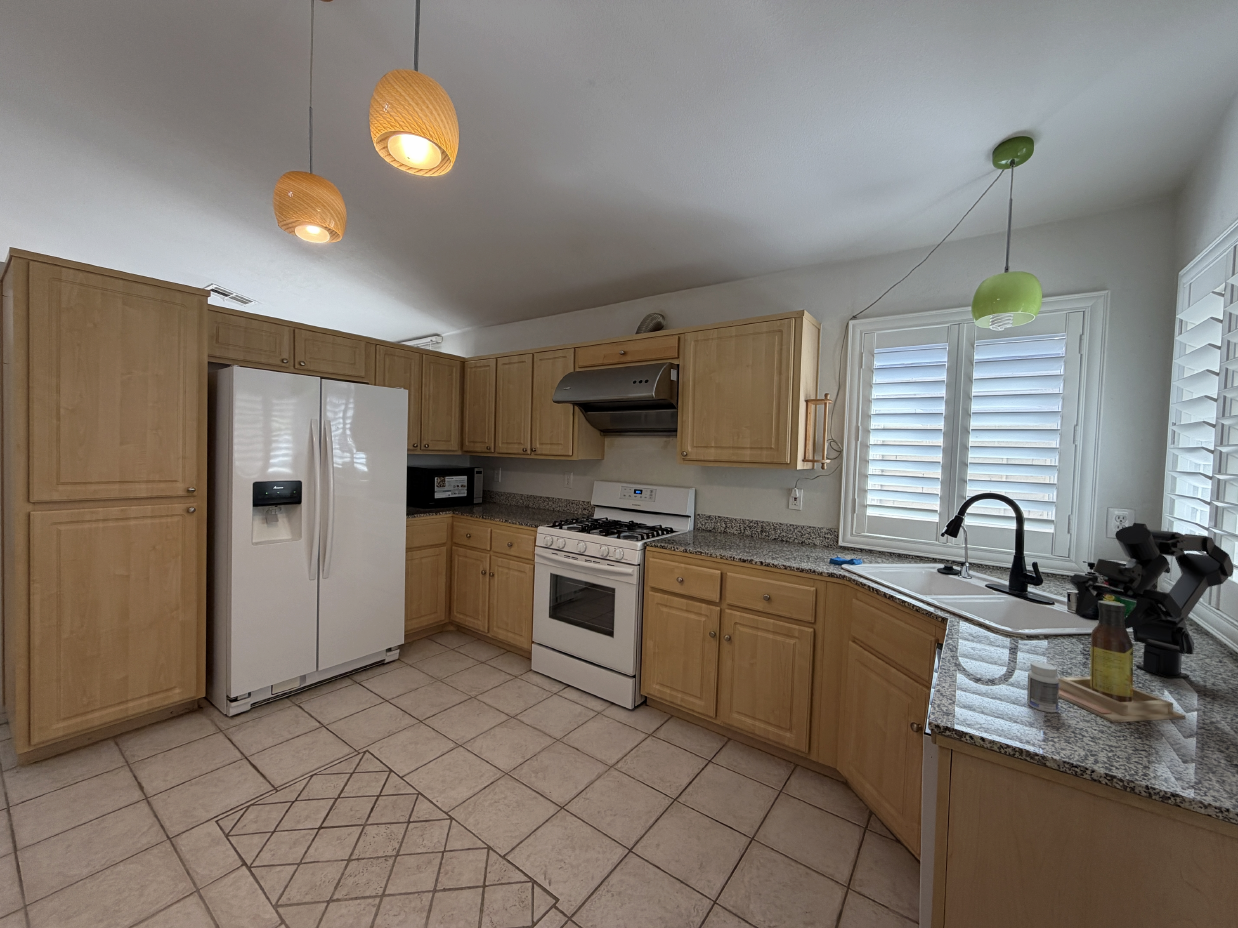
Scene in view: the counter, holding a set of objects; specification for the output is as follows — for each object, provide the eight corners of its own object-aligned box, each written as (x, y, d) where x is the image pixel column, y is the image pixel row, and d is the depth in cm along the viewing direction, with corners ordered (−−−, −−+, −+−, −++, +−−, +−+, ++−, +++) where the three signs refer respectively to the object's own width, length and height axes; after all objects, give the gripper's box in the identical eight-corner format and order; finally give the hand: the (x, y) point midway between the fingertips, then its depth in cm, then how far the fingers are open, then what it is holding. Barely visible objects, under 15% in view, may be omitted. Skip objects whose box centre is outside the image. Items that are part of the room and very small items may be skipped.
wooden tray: (1103, 684, 108) (1103, 673, 108) (1185, 717, 94) (1186, 705, 94) (1038, 687, 105) (1038, 676, 105) (1113, 722, 91) (1113, 709, 91)
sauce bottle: (1140, 708, 96) (1144, 609, 96) (1100, 702, 98) (1104, 605, 98) (1119, 694, 102) (1122, 601, 102) (1082, 688, 104) (1085, 597, 104)
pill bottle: (1064, 714, 94) (1065, 671, 94) (1036, 711, 95) (1037, 668, 95) (1047, 702, 99) (1049, 661, 98) (1021, 699, 99) (1022, 659, 99)
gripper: (1076, 541, 120) (1037, 585, 119) (1173, 556, 102) (1128, 608, 100) (1101, 572, 122) (1063, 616, 120) (1201, 592, 103) (1157, 645, 102)
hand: (1099, 620), depth 110 cm, fingers open, 9 cm apart
